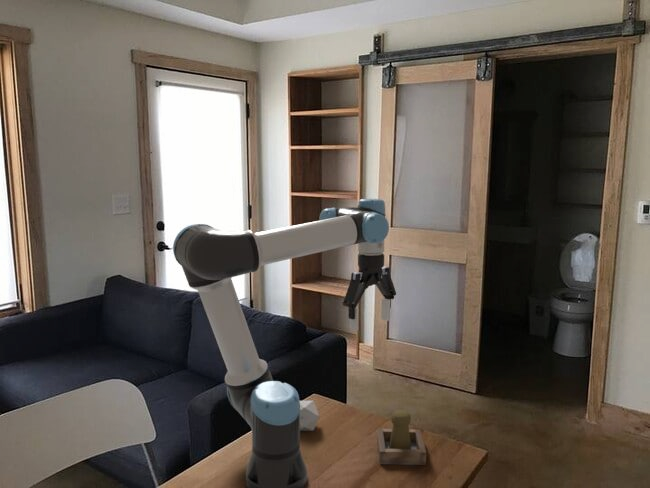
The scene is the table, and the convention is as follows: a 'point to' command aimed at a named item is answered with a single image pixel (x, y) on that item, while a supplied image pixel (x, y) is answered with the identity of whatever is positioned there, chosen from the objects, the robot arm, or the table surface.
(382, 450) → the wooden tray
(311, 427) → the die
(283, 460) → the robot arm
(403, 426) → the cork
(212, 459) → the table surface
